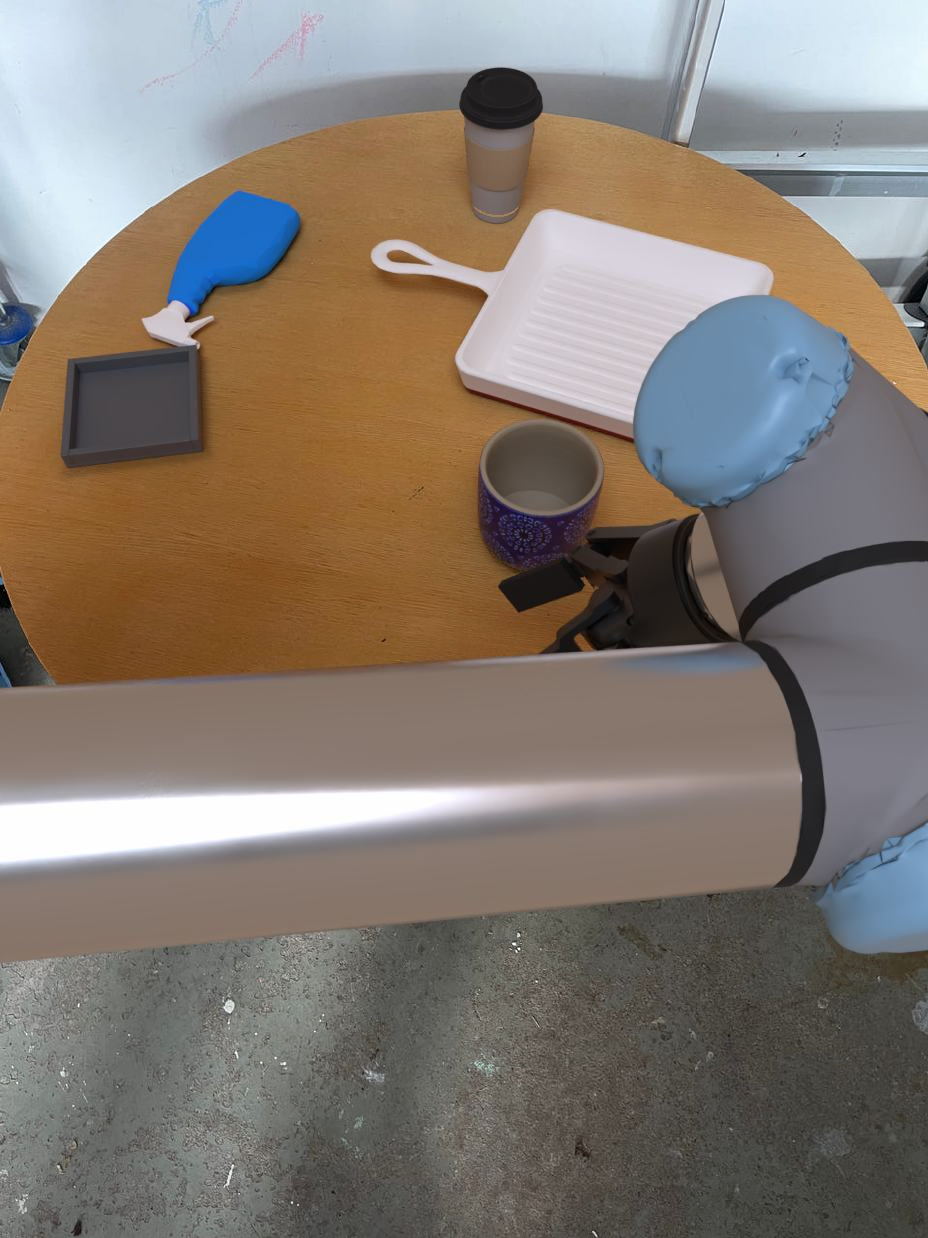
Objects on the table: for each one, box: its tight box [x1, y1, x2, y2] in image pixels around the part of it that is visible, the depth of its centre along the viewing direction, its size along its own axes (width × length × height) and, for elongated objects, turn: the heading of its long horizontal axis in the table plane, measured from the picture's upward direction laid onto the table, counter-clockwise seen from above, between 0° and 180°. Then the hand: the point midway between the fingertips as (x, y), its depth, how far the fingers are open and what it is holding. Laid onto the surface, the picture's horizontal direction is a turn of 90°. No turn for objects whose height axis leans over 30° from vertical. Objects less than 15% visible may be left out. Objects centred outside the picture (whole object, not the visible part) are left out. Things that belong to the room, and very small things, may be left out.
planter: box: [476, 418, 605, 572], centre depth 79 cm, size 11×11×11 cm
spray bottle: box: [141, 189, 302, 350], centre depth 101 cm, size 3×11×24 cm
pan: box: [370, 208, 775, 443], centre depth 96 cm, size 28×44×5 cm, turn 68°
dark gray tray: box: [60, 345, 204, 469], centre depth 91 cm, size 14×14×2 cm
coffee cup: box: [458, 66, 544, 224], centre depth 102 cm, size 9×9×15 cm
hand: (468, 656), depth 62 cm, fingers open, 13 cm apart
